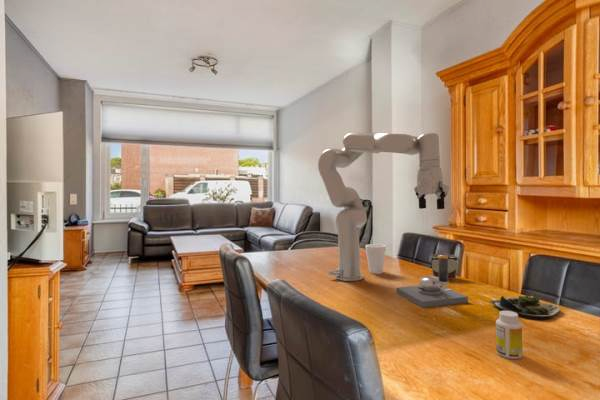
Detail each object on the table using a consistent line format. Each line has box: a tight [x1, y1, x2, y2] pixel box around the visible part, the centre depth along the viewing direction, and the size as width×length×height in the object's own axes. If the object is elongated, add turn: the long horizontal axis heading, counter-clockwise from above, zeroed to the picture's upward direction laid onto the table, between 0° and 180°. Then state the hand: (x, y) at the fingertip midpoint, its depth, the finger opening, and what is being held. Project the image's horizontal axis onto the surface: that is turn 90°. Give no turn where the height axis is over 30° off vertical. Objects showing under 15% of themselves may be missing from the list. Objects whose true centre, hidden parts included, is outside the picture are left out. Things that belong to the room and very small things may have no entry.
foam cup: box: [365, 243, 387, 275], centre depth 173 cm, size 10×9×13 cm
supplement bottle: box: [495, 310, 523, 360], centre depth 87 cm, size 6×6×10 cm
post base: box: [395, 284, 469, 308], centre depth 133 cm, size 18×18×3 cm
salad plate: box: [489, 295, 561, 321], centre depth 119 cm, size 19×18×5 cm
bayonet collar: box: [418, 255, 450, 292], centre depth 130 cm, size 13×9×14 cm
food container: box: [429, 253, 460, 280], centre depth 161 cm, size 12×6×10 cm, turn 84°
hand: (431, 208), depth 141 cm, fingers open, 9 cm apart
